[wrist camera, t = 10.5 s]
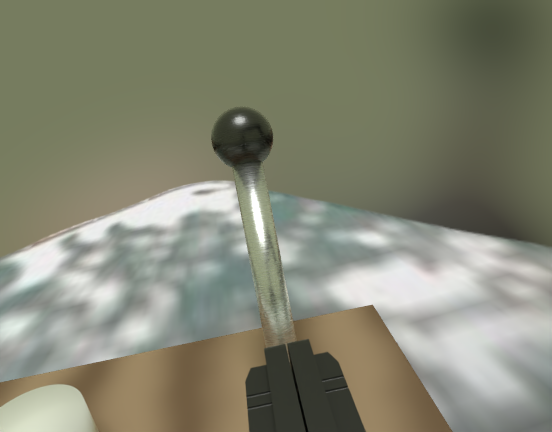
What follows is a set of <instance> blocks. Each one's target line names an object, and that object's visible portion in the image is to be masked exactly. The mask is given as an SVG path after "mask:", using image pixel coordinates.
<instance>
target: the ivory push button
mask: <svg viewBox="0 0 552 432" xmlns="http://www.w3.org/2000/svg"><path fill="white" fill-rule="evenodd" d="M0 432H99V431H98V429H97V427H96V425H95V422H94V420H93V418H92V416H91V413H90V411H89V409H88V407H87V405H86V402H85V400H84V398H83V396H82V394H81V392H80V391H79V390H78V389H76V388H75V387H72V386H70V385H64V384H55V385H48V386H43V387H40V388H37V389H34V390H31V391H29V392H26V393H24V394H22V395H20V396H18V397H16V398H14V399H12V400H11V401H9V402H7V403H6V404H4V405H3V406H1V407H0Z"/></svg>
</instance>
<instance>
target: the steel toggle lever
mask: <svg viewBox="0 0 552 432" xmlns="http://www.w3.org/2000/svg"><path fill="white" fill-rule="evenodd" d="M211 140H212V146H213V149H214V151H215V153H216V155H217V156H218V158H219V159H220V160H221V161H222V162H223V163H225V164H226V165H228V166H230V167H232V169H233V174H234V180H235V185H236V190H237V196H238V201H239V206H240V212H241V217H242V222H243V228H244V233H245V238H246V244H247V249H248V254H249V260H250V265H251V270H252V276H253V281H254V286H255V292H256V297H257V302H258V308H259V313H260V318H261V324H262V329H263V334H264V340H265V345H266V348H267V347H272V346H276V345H281V344H285V345H286V349H287V353H288V347H287V343H290V342H295V341H297V339H296V334H295V329H294V324H293V318H292V313H291V308H290V303H289V298H288V292H287V287H286V282H285V277H284V271H283V266H282V261H281V256H280V250H279V245H278V240H277V235H276V230H275V224H274V219H273V214H272V209H271V203H270V198H269V193H268V188H267V183H266V178H265V173H264V167H263V161H264V160H265V159H266V158H267V157H268V155H269V153H270V151H271V149H272V145H273V132H272V128H271V126H270V124H269V122H268V120H267V119H266V118H265V117H264V116H263V115H262V114H261V113H260V112H258V111H256V110H255V109H252V108H249V107H235V108H231V109H229V110H227V111H225V112H224V113H223V114H221V115H220V116H219V118H218V119H217V120H216V122H215V124H214V126H213V129H212V134H211ZM288 357H289V353H288ZM289 362H290V360H289Z"/></svg>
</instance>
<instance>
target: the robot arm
mask: <svg viewBox="0 0 552 432" xmlns="http://www.w3.org/2000/svg"><path fill="white" fill-rule="evenodd" d="M287 347H288V353H289V357H288V353H287V349H286V345H285V344H281V345H276V346H272V347H267V348H264V353H265V359H266V365H262V366H258V367H253V368H250V371H249V373H248V376H247V378H246V381H245V386H246V397H247V409H248V423H249V432H366V430H365V428H364V426H363V423H362V421H361V418H360V415H359V413H358V410H357V408H356V405H355V403H354V400H353V398H352V395H351V392H350V390H349V388H348V385H347V382H346V380H345V378H344V375H343V372H342V369H341V367H340V364H339V362H338V361H337V360H336V359H335V358H334V357H333V356H332V355H331V354H330V353H329V352H324V353H319V354H315V355H314V354H313V351H312V348H311V344H310V341H309V339H305V340H300V341H295V342H290V343H287ZM289 360H290V362H289Z"/></svg>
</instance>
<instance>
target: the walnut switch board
mask: <svg viewBox="0 0 552 432" xmlns="http://www.w3.org/2000/svg"><path fill="white" fill-rule="evenodd" d="M293 324H294V329H295V334H296V339H297V341H300V340H305V339H309V341H310V344H311V348H312V351H313V354H314V355H315V354H319V353H324V352H329V353H330V354H331V355H332V356H333V357H334V358H335V359H336V360H337V361H338V362H339V364H340V367H341V369H342V372H343V375H344V378H345V380H346V382H347V385H348V388H349V390H350V392H351V395H352V398H353V400H354V403H355V405H356V408H357V410H358V413H359V415H360V418H361V421H362V423H363V426H364V428H365V430H366V432H452V430H451V429H450V427H449V425H448V424H447V422H446V421H445V419H444V417H443V416H442V414H441V413H440V411H439V409H438V408H437V406H436V405H435V403H434V401H433V400H432V398H431V397H430V395H429V394H428V392H427V390H426V389H425V387H424V386H423V384H422V382H421V381H420V379H419V378H418V376H417V374H416V373H415V371H414V370H413V368H412V367H411V365H410V363H409V362H408V360H407V359H406V357H405V355H404V354H403V352H402V351H401V349H400V347H399V346H398V344H397V343H396V341H395V340H394V338H393V336H392V335H391V333H390V332H389V330H388V328H387V327H386V325H385V324H384V322H383V320H382V319H381V317H380V316H379V314H378V312H377V311H376V309H375V308H374V306H373V305H369V306H364V307H359V308H355V309H350V310H345V311H340V312H335V313H331V314H326V315H321V316H316V317H312V318H307V319H302V320H297V321H293ZM264 348H266V345H265V340H264V334H263V329H262V328H259V329H254V330H249V331H245V332H240V333H235V334H230V335H225V336H221V337H216V338H211V339H206V340H202V341H197V342H192V343H187V344H182V345H178V346H173V347H168V348H163V349H159V350H154V351H149V352H144V353H139V354H135V355H130V356H125V357H120V358H115V359H111V360H106V361H101V362H96V363H92V364H87V365H82V366H77V367H72V368H68V369H63V370H58V371H53V372H49V373H44V374H39V375H34V376H29V377H25V378H20V379H15V380H10V381H6V382H1V383H0V407H1V406H3V405H4V404H6V403H7V402H9V401H11V400H12V399H14V398H16V397H18V396H20V395H22V394H24V393H26V392H29V391H31V390H34V389H37V388H40V387H43V386H48V385H55V384H64V385H70V386H72V387H75V388H76V389H78V390H79V391H80V392H81V394H82V396H83V398H84V400H85V402H86V405H87V407H88V409H89V411H90V413H91V416H92V418H93V420H94V422H95V425H96V427H97V429H98V431H99V432H249V423H248V409H247V397H246V386H245V381H246V378H247V376H248V373H249V371H250V368H253V367H258V366H262V365H266V359H265V353H264Z"/></svg>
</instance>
